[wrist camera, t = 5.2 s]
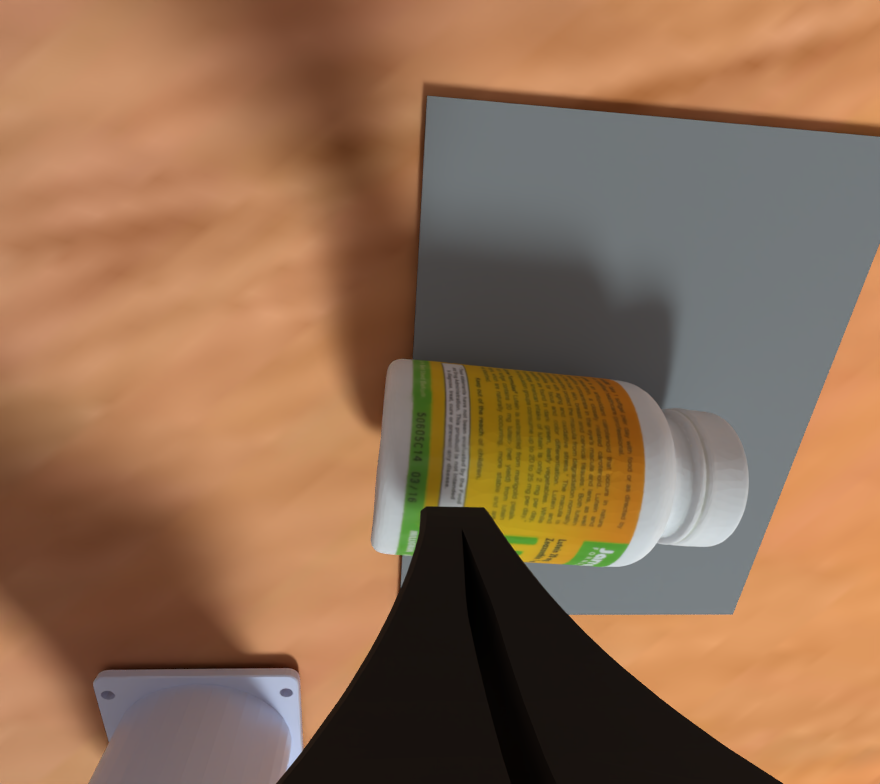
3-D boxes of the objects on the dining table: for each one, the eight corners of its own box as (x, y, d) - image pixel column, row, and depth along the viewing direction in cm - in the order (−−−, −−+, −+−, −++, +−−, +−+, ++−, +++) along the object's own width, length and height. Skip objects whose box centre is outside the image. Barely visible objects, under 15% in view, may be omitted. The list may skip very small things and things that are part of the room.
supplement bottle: (367, 572, 11) (774, 594, 12) (389, 335, 12) (769, 374, 13) (370, 538, 17) (655, 556, 18) (385, 374, 18) (657, 400, 19)
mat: (728, 608, 22) (732, 614, 22) (399, 608, 21) (399, 614, 20) (910, 140, 15) (919, 140, 15) (426, 97, 14) (427, 95, 13)
